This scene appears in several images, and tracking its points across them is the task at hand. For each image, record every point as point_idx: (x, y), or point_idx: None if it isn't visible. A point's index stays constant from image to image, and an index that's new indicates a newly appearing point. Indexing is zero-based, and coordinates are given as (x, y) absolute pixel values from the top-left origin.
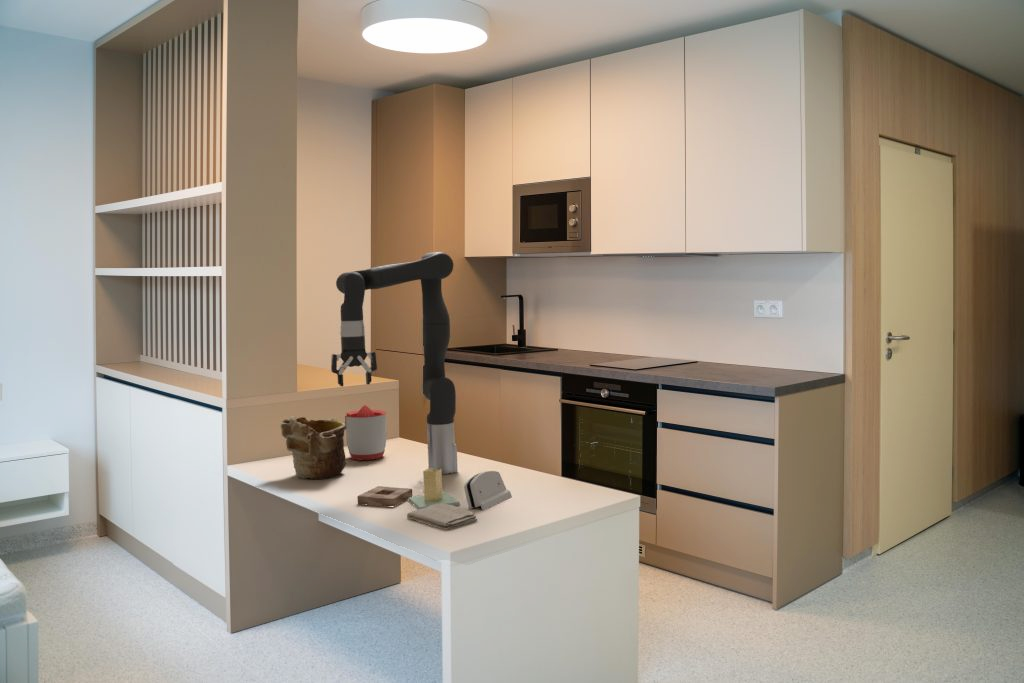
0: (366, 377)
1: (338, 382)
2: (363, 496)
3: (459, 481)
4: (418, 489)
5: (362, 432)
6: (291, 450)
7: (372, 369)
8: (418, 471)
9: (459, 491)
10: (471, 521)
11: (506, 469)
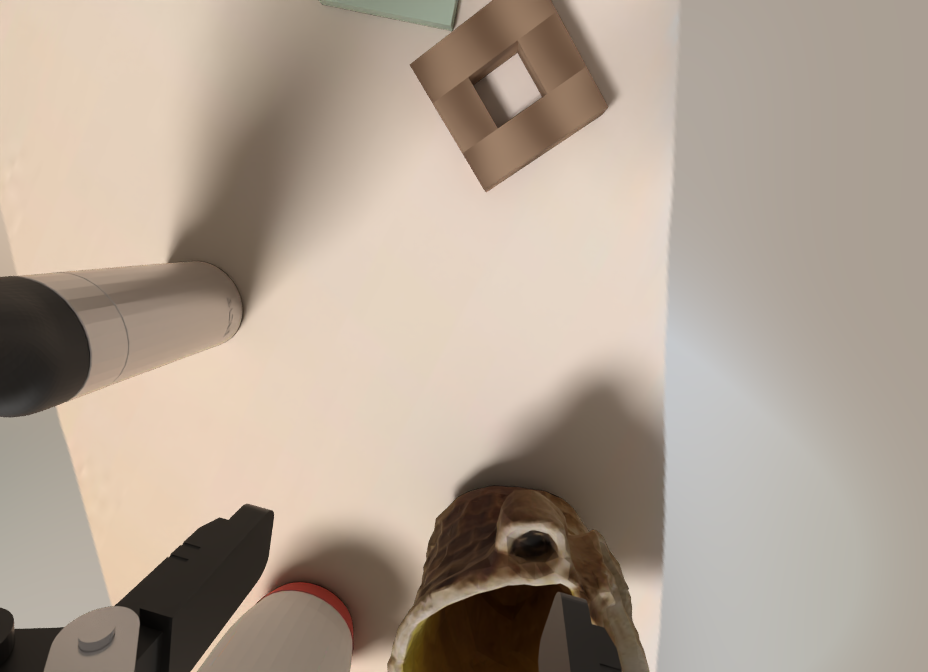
0: (219, 608)
1: (614, 667)
2: (594, 85)
3: (208, 153)
4: (357, 154)
5: (296, 668)
6: (629, 617)
7: (26, 658)
8: (258, 365)
9: (262, 27)
10: None
11: (25, 187)
